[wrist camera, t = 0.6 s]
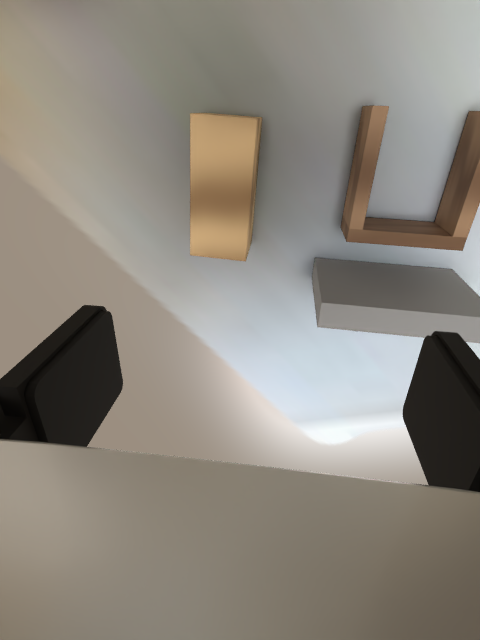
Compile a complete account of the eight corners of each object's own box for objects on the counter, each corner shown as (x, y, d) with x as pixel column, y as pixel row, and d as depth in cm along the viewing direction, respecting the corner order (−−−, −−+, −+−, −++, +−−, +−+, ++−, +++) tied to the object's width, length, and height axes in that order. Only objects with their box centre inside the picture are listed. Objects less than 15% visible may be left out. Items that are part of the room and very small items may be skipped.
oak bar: (205, 112, 29) (190, 113, 24) (262, 117, 28) (257, 118, 24) (203, 236, 34) (190, 255, 29) (251, 241, 33) (245, 261, 29)
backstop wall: (314, 257, 33) (321, 302, 25) (452, 269, 32) (502, 319, 24) (311, 278, 34) (317, 327, 26) (444, 289, 33) (491, 344, 25)
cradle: (362, 106, 27) (372, 105, 23) (483, 111, 26) (512, 111, 23) (340, 227, 31) (346, 241, 28) (443, 234, 31) (462, 250, 27)
